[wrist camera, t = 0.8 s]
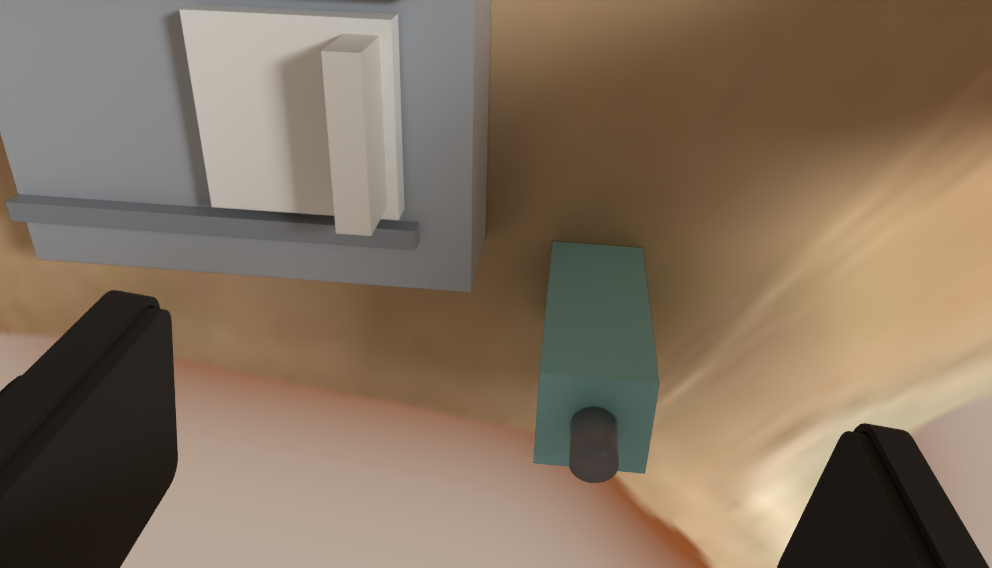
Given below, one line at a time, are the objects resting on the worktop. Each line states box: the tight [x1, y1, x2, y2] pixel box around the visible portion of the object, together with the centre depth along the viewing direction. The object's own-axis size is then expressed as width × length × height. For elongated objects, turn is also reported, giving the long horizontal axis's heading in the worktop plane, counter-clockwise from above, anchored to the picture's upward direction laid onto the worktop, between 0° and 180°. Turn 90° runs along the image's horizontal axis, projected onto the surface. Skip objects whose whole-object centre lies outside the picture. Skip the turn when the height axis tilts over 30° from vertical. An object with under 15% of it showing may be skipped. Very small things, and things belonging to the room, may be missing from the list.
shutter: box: [179, 4, 405, 236], centre depth 27 cm, size 7×7×3 cm
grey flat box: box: [0, 0, 491, 292], centre depth 30 cm, size 18×14×6 cm
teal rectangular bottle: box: [533, 241, 659, 483], centre depth 31 cm, size 4×4×12 cm
